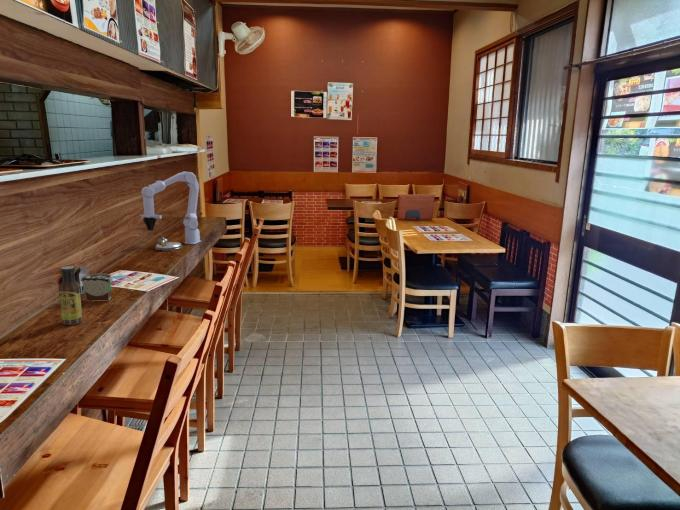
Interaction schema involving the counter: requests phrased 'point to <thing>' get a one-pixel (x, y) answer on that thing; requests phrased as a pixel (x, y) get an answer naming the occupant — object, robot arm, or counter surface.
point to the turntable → (168, 245)
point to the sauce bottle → (70, 297)
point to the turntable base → (168, 249)
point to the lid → (164, 241)
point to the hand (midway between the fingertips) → (150, 230)
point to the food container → (97, 286)
